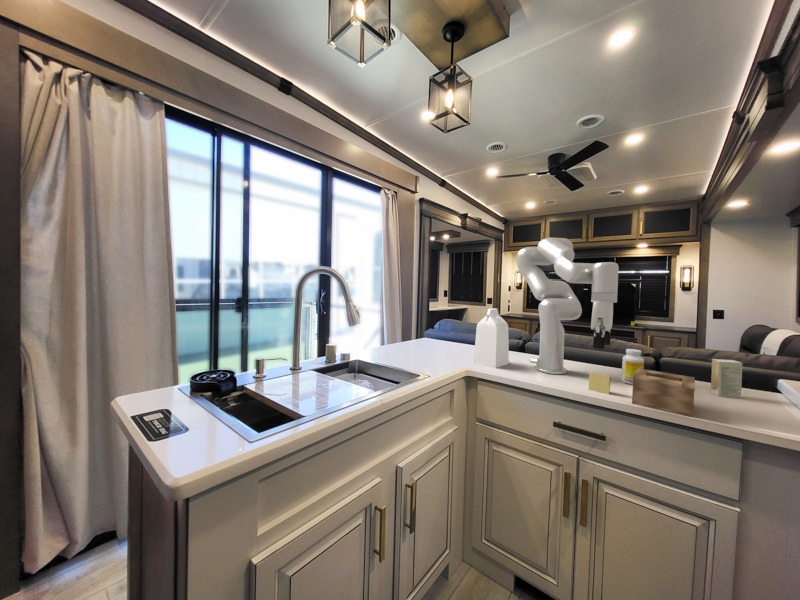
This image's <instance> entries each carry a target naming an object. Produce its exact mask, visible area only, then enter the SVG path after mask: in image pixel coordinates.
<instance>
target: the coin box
mask: <svg viewBox="0 0 800 600" xmlns="http://www.w3.org/2000/svg"><path fill="white" fill-rule="evenodd" d="M695 379H696V378H695V377H694V376H688V375H684V374H683V375H682V374H676V373H671V372H662V371H657V370H652V369H646V368H645V369H639V368H638V370H637V371H636V372H635V374H634V375H633V385H632V396H631V397H632V398H631V404H632V405H636V406H640V407H641V406H642V407H646V408H651V409H655V410H659V411H660V410H661V411H664V412H669V413H673V414H677V415H681V416H685V417H691V418H693V417H694V405H695V391H696V390H695V388H696V382H695V381H696V380H695Z"/></svg>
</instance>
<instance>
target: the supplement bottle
mask: <svg viewBox="0 0 800 600" xmlns="http://www.w3.org/2000/svg"><path fill="white" fill-rule="evenodd" d="M625 353H626V355H623V356H622V363H621V381H622V383H625V384H627V385H631V386H633V375H634V374H635V372H636V371H637V370H638V368H639V369H644V368H645V359H644V357H642V355H641V354H642V350H640V349H635V348H626V349H625Z"/></svg>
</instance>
